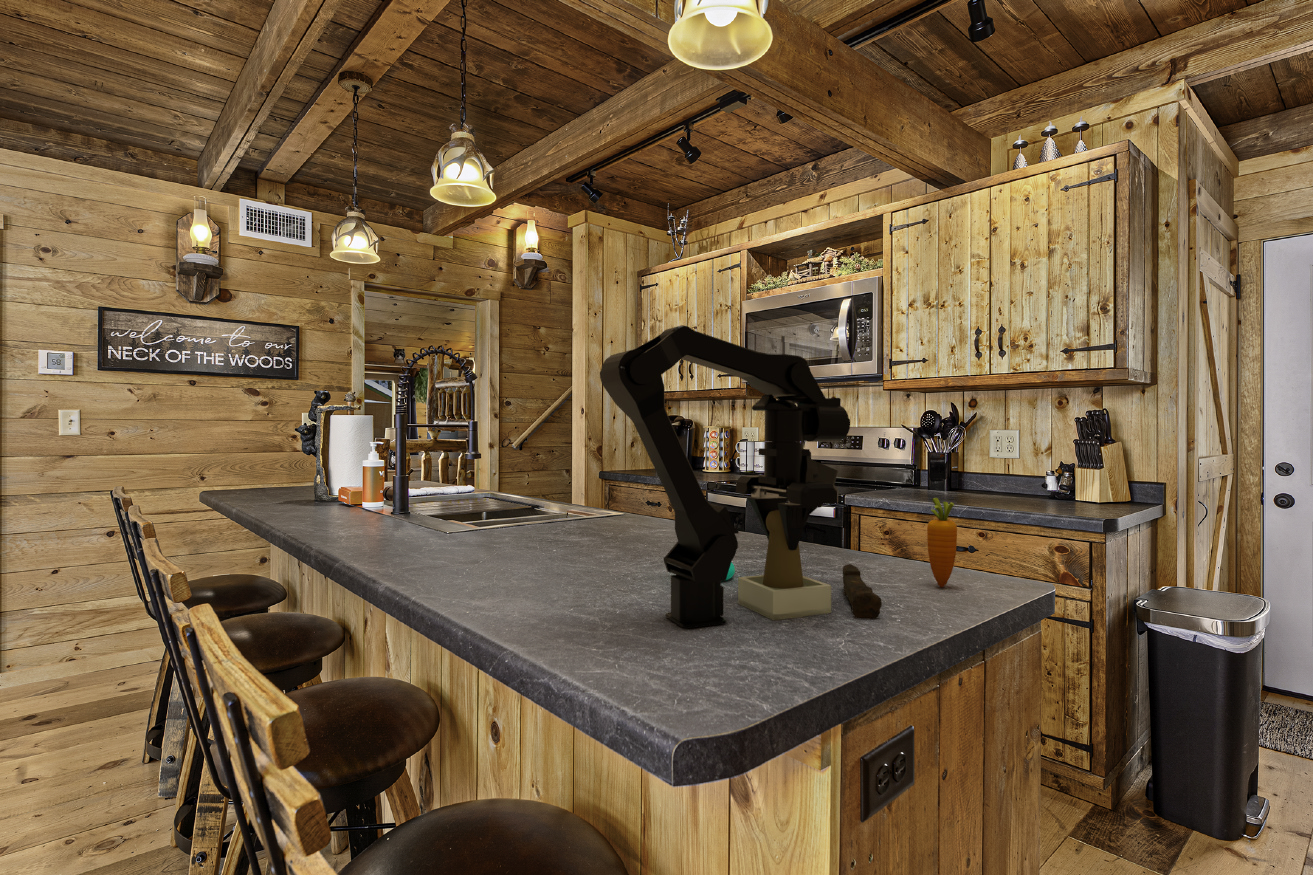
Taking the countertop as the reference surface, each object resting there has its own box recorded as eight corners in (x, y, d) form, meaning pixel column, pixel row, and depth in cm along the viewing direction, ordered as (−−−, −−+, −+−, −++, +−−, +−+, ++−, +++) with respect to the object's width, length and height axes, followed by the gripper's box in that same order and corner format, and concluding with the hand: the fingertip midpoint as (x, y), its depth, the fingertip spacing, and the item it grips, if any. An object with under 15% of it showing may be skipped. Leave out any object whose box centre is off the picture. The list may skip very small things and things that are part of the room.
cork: (758, 586, 99) (758, 511, 99) (767, 578, 105) (768, 507, 105) (800, 590, 97) (800, 513, 97) (807, 581, 103) (807, 509, 103)
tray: (773, 620, 95) (773, 591, 95) (738, 603, 104) (738, 577, 104) (831, 612, 98) (831, 585, 98) (792, 597, 107) (792, 572, 107)
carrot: (962, 590, 112) (963, 500, 112) (932, 590, 112) (933, 499, 112) (950, 584, 117) (951, 496, 117) (921, 583, 117) (921, 496, 117)
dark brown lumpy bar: (881, 621, 95) (882, 588, 95) (852, 620, 96) (852, 587, 96) (864, 590, 114) (864, 562, 114) (839, 589, 114) (840, 561, 114)
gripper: (870, 443, 95) (868, 554, 95) (793, 440, 112) (792, 535, 113) (803, 443, 91) (802, 559, 91) (734, 440, 108) (733, 538, 108)
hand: (782, 547), depth 101 cm, fingers closed on cork, 5 cm apart
